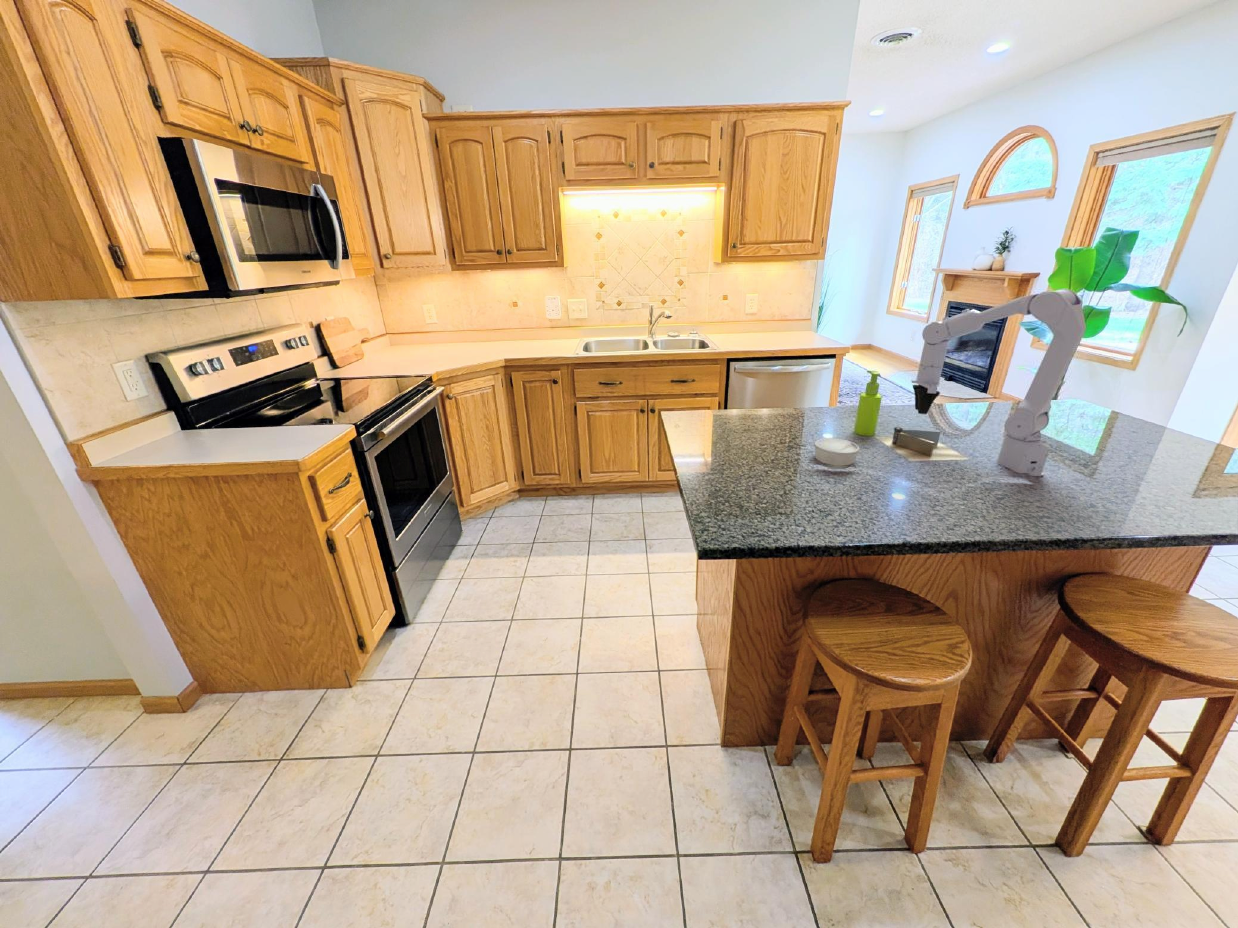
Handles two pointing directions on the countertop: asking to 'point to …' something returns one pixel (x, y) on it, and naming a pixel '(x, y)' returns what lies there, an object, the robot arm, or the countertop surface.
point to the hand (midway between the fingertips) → (920, 411)
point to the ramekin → (835, 452)
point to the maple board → (938, 454)
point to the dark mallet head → (912, 443)
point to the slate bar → (924, 434)
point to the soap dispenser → (868, 407)
